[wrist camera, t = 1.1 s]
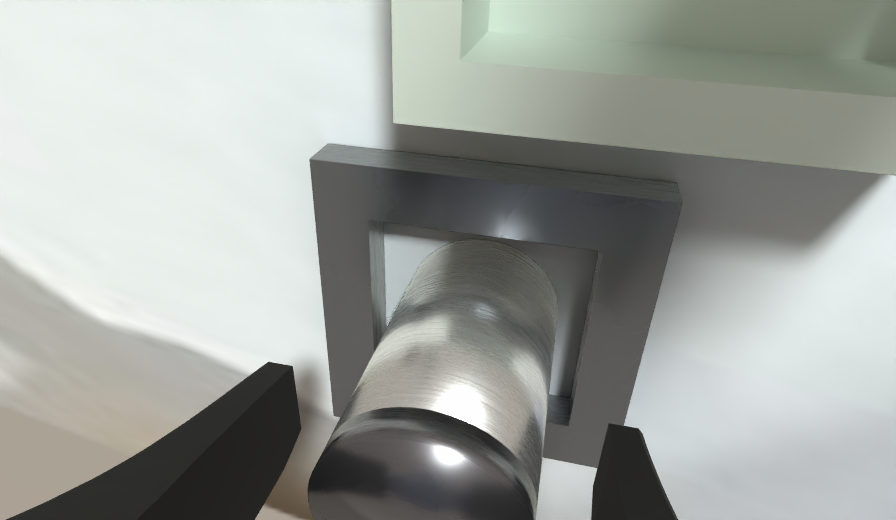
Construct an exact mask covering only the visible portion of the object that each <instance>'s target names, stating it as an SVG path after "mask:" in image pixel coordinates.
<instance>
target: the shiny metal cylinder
mask: <svg viewBox="0 0 896 520" xmlns="http://www.w3.org/2000/svg"><path fill="white" fill-rule="evenodd" d="M557 312H558V305H557V298H556V293H555V290H554V288H553V285H552V283H551V281H550V280H549V278H548V276H547V275H546V273H545V272H544V271H543V270H542V268H541V267H540V266H539V265H538V264H537V263H536V262H535V261H534V260H532V259H531V258H530V257H528V256H527V255H526V254H524V253H522V252H521V251H519V250H517V249H515V248H513V247H511V246H508V245H506V244H502V243H499V242H495V241H490V240H481V239H470V240H462V241H456V242H453V243H450V244H447V245H445V246H443V247H440V248H439V249H437V250H435V251H434V252H432V253H431V254H430V255H429V256H428V257H426V258H425V260H424V261H423V262H422V263H421V264H420V266H419V267H418V269H417V271H416V273H415V275H414V276H413V278H412V280H411V282H410V284H409V286H408V288H407V290H406V292H405V294H404V296H403V298H402V300H401V302H400V304H399V305H398V307H397V309H396V311H395V313H394V315H393V317H392V319H391V321H390V323H389V325H388V327H387V329H386V331H385V333H384V335H383V336H382V338H381V340H380V342H379V344H378V346H377V348H376V350H375V352H374V354H373V356H372V358H371V360H370V362H369V364H368V365H367V367H366V369H365V371H364V373H363V375H362V377H361V379H360V381H359V383H358V385H357V387H356V389H355V391H354V393H353V395H352V396H351V398H350V400H349V402H348V404H347V406H346V408H345V410H344V412H343V414H342V416H341V418H340V420H339V422H338V424H337V425H336V427H335V429H334V431H333V433H332V435H331V437H330V439H329V441H328V443H327V445H326V447H325V449H324V451H323V453H322V455H321V456H320V458H319V460H318V462H317V464H316V466H315V468H314V470H313V472H312V474H311V477H310V480H309V484H308V501H309V506H310V509H311V512H312V514H313V517H314V519H315V520H536V511H537V501H538V492H539V483H540V473H541V464H542V454H543V445H544V436H545V426H546V417H547V407H548V398H549V389H550V379H551V370H552V360H553V351H554V342H555V332H556V323H557Z"/></svg>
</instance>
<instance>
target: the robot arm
mask: <svg viewBox="0 0 896 520" xmlns="http://www.w3.org/2000/svg"><path fill="white" fill-rule="evenodd" d="M300 430H301V423H300V416H299V409H298V402H297V394H296V387H295V380H294V372H293V366H289V365H283V364H278V363H272V362H268V363H266V364H265V365H264V366H262V367H261V368H259V369H258V370H257V371H255V372H254V373H253V374H251V375H250V376H248V377H247V378H246V379H244V380H243V381H242V382H240V383H239V384H238V385H236V386H235V387H234V388H232V389H231V390H230V391H228V392H227V393H226V394H224V395H223V396H222V397H220V398H219V399H218V400H216V401H215V402H213V403H212V404H211V405H209V406H208V407H206V408H205V409H204V410H202V411H201V412H199V413H198V414H197V415H195V416H194V417H192V418H191V419H190V420H188V421H187V422H185V423H184V424H182V425H181V426H179V427H178V428H176V429H175V430H173V431H172V432H170V433H169V434H167V435H166V436H164V437H163V438H161V439H160V440H158V441H157V442H155V443H154V444H152V445H151V446H149V447H147V448H146V449H144V450H143V451H141V452H139V453H138V454H136V455H134V456H133V457H131V458H129V459H128V460H126V461H124V462H122V463H121V464H119V465H117V466H115V467H113V468H112V469H110V470H108V471H106V472H105V473H103V474H101V475H99V476H97V477H95V478H93V479H92V480H90V481H88V482H85V483H84V484H82V485H79V486H78V487H75V488H74V489H71V490H69V491H67V492H66V493H63V494H61V495H59V496H57V497H55V498H53V499H51V500H49V501H47V502H45V503H43V504H41V505H38V506H36V507H34V508H32V509H29V510H27V511H25V512H23V513H20V514H18V515H16V516H14V517H11V518H9V519H6V520H255V518H256V516H257V515H258V513H259V511H260V510H261V508H262V506H263V505H264V503H265V501H266V499H267V498H268V496H269V494H270V493H271V491H272V489H273V487H274V486H275V484H276V482H277V480H278V479H279V477H280V475H281V473H282V472H283V470H284V468H285V466H286V463H287V461H288V459H289V457H290V454H291V452H292V450H293V447H294V445H295V442H296V440H297V438H298V435H299V433H300ZM591 520H678V519H677V517H676V514H675V512H674V510H673V508H672V506H671V504H670V502H669V500H668V498H667V495H666V493H665V491H664V489H663V486H662V484H661V482H660V479H659V477H658V474H657V472H656V470H655V467H654V465H653V462H652V460H651V457H650V454H649V451H648V449H647V446H646V443H645V440H644V437H643V434H642V432H641V431H640V430H639V429H638V428H633V427H627V426H622V425H616V424H611V423H609V424H608V428H607V432H606V436H605V440H604V444H603V448H602V452H601V456H600V460H599V464H598V469H597V473H596V477H595V481H594V485H593V497H592V517H591Z"/></svg>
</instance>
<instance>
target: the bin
mask: <svg viewBox="0 0 896 520" xmlns="http://www.w3.org/2000/svg"><path fill="white" fill-rule="evenodd" d="M391 14H392V79H393V123H397V124H407V125H416V126H426V127H435V128H445V129H455V130H464V131H474V132H483V133H493V134H503V135H512V136H522V137H531V138H541V139H550V140H560V141H570V142H579V143H589V144H598V145H608V146H618V147H627V148H637V149H646V150H656V151H665V152H675V153H685V154H694V155H704V156H713V157H723V158H732V159H742V160H752V161H761V162H771V163H780V164H790V165H800V166H809V167H819V168H828V169H838V170H847V171H857V172H867V173H876V174H886V175H895V176H896V0H391Z"/></svg>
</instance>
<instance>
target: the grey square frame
mask: <svg viewBox="0 0 896 520" xmlns="http://www.w3.org/2000/svg"><path fill="white" fill-rule="evenodd" d="M310 169H311V180H312V190H313V201H314V211H315V222H316V233H317V243H318V254H319V265H320V275H321V286H322V296H323V307H324V318H325V328H326V339H327V350H328V360H329V371H330V381H331V392H332V403H333V413H334V416H337V417H341V416H342V414H343V412H344V410H345V408H346V406H347V404H348V402H349V400H350V398H351V396H352V395H353V393H354V391H355V389H356V387H357V385H358V383H359V381H360V379H361V377H362V375H363V373H364V371H365V369H366V367H367V365H368V364H369V362H370V360H371V358H372V356H373V354H374V352H375V350H376V348H377V346H378V344H379V342H380V340H381V338H382V336H383V335H384V333H385V331H386V301H385V264H384V227H383V222H388V223H396V224H403V225H410V226H418V227H425V228H433V229H440V230H447V231H455V232H462V233H470V234H477V235H484V236H492V237H499V238H507V239H514V240H522V241H529V242H536V243H544V244H551V245H559V246H566V247H573V248H581V249H588V250H596V251H599V252H598V257H597V263H596V268H595V273H594V278H593V283H592V289H591V294H590V299H589V304H588V309H587V315H586V320H585V325H584V330H583V336H582V341H581V346H580V351H579V356H578V362H577V367H576V372H575V377H574V382H573V388H572V393H571V398H565V397H560V396H554V395H549V398H548V407H547V417H546V426H545V436H544V445H543V454H542V457H544V458H549V459H554V460H559V461H565V462H570V463H575V464H580V465H585V466H590V467H595V468H598V464H599V460H600V456H601V452H602V448H603V444H604V440H605V436H606V432H607V428H608V424H609V423H611V424H616V425H622V426H624V422H625V418H626V414H627V410H628V407H629V403H630V399H631V395H632V392H633V388H634V384H635V380H636V376H637V373H638V369H639V365H640V361H641V357H642V354H643V350H644V346H645V342H646V339H647V335H648V331H649V327H650V323H651V320H652V316H653V312H654V308H655V305H656V301H657V297H658V293H659V289H660V286H661V282H662V278H663V274H664V271H665V267H666V263H667V259H668V255H669V252H670V248H671V244H672V240H673V237H674V233H675V229H676V225H677V221H678V218H679V214H680V210H681V206H682V200H681V197H680V193H679V190H678V187H677V183H674V182H665V181H656V180H647V179H639V178H630V177H621V176H612V175H603V174H594V173H585V172H577V171H568V170H559V169H550V168H541V167H532V166H523V165H514V164H506V163H497V162H488V161H479V160H470V159H461V158H452V157H444V156H435V155H426V154H417V153H408V152H399V151H390V150H382V149H373V148H364V147H355V146H346V145H337V144H327V145H326V146H325V147H323V148H322V149H321V150H320V151H319V152H317V153H316V154H315V155H314V156H313V157H311V158H310Z"/></svg>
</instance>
